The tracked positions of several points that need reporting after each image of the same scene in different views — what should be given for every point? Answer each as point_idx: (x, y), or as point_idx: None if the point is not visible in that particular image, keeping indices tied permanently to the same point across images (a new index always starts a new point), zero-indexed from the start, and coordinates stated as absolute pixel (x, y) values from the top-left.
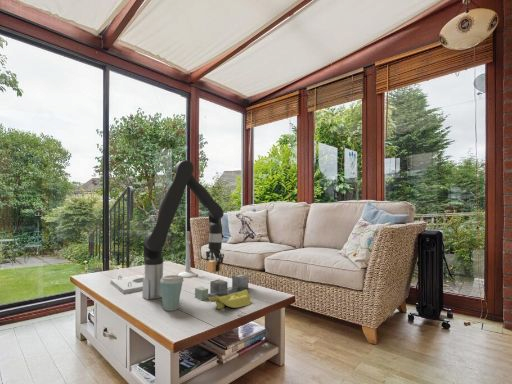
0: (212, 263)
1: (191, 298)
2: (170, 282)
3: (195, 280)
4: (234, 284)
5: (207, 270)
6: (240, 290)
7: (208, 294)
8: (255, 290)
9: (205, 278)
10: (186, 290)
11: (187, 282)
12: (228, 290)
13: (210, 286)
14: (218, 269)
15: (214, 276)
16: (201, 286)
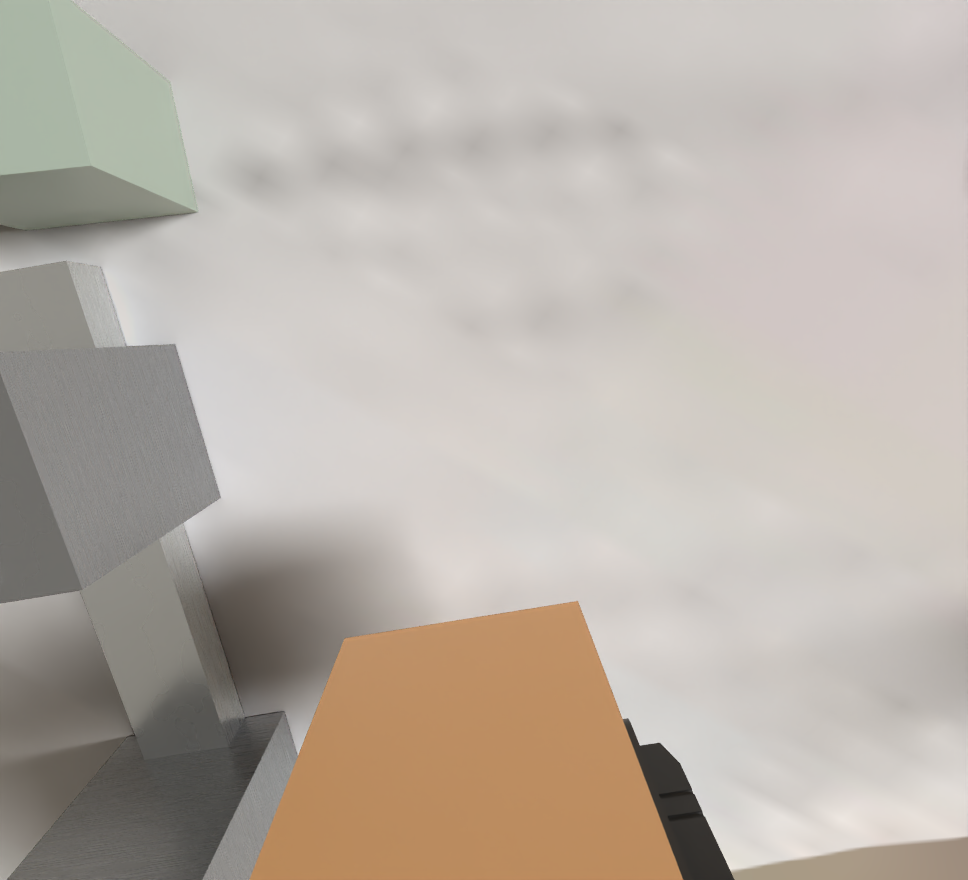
0: None
1: (154, 8)
2: None
3: (951, 515)
4: (211, 769)
5: (553, 621)
6: (131, 738)
7: (57, 264)
8: None
9: (926, 669)
10: (588, 149)
11: (954, 370)
12: (81, 592)
13: (76, 349)
14: None
15: (913, 799)
16: (88, 162)
